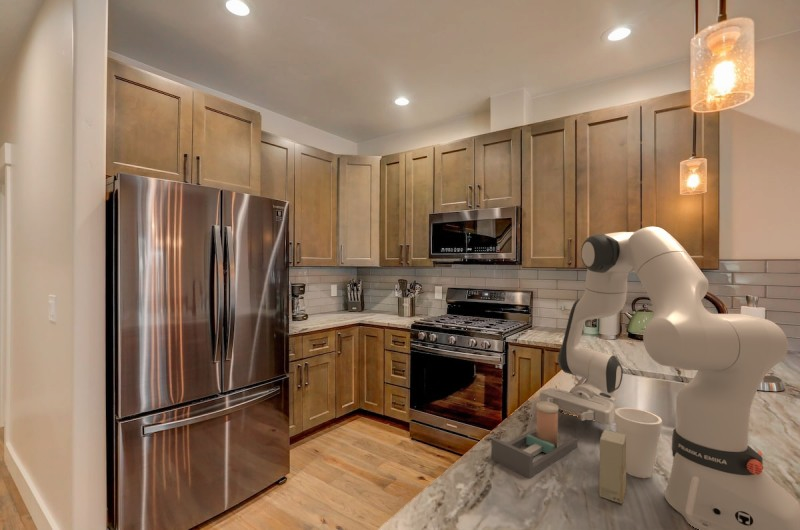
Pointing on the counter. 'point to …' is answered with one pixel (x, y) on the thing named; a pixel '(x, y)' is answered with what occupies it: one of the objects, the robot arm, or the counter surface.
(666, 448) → the counter surface
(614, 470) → the skincare box
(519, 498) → the counter surface
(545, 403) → the terracotta jar
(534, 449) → the pusher plate
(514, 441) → the pusher lane
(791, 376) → the counter surface
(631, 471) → the foam cup
